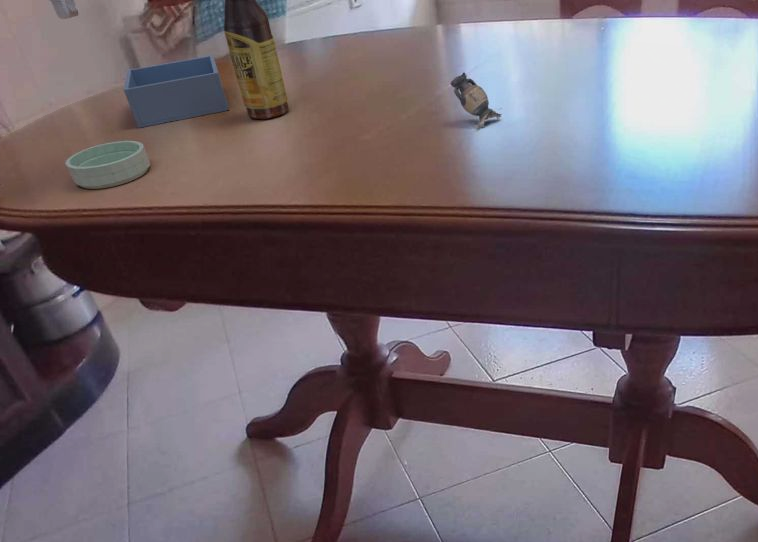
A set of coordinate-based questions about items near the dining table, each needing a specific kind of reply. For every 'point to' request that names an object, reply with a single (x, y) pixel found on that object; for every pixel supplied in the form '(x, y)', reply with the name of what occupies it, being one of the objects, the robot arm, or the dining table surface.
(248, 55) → the sauce bottle
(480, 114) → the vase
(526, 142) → the dining table surface
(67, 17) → the robot arm
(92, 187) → the mint green bowl
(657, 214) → the dining table surface
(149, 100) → the tub
